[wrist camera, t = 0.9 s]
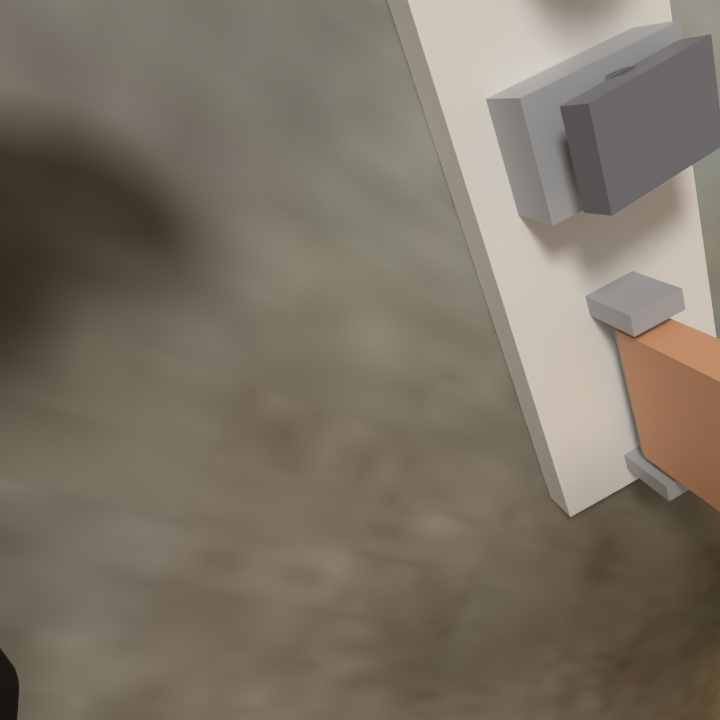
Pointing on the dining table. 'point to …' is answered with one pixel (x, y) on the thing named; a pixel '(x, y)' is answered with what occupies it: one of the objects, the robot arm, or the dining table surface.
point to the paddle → (676, 402)
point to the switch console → (557, 218)
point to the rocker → (643, 125)
